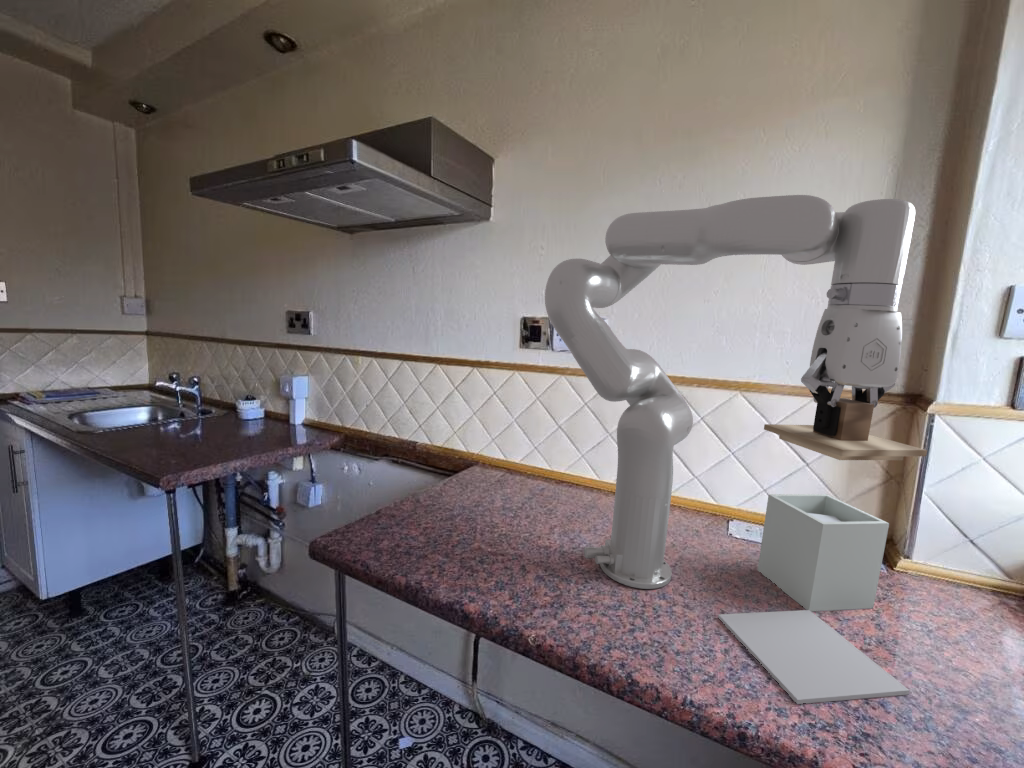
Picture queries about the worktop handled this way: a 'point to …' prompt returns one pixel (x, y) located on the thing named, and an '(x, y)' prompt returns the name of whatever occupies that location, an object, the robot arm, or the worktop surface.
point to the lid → (847, 436)
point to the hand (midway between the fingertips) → (839, 432)
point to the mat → (810, 657)
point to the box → (822, 551)
